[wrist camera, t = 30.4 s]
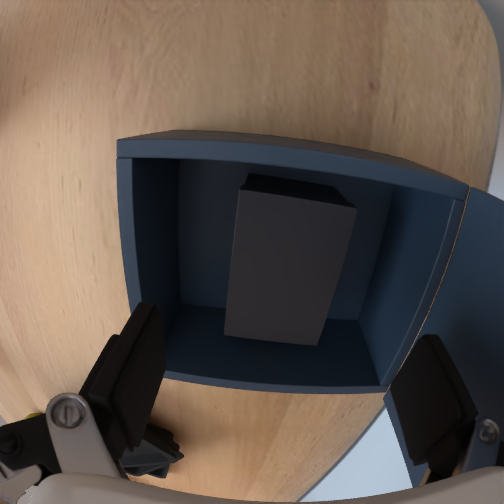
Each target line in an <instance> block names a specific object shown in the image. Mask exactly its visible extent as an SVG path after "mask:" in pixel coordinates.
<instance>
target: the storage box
mask: <svg viewBox="0 0 504 504" xmlns="http://www.w3.org/2000/svg"><path fill="white" fill-rule="evenodd" d="M116 169H117V197H118V214H119V227H120V238H121V248H122V257H123V265H124V273H125V280H126V287H127V294H128V300H129V306H130V312H131V315H132V313H133V311H134V310H135V308H136V306H137V305H138V303H139V302H145V303H151V304H155V305H156V306H157V309H159V310H161V311H162V320H163V332H164V344H165V354H166V370H165V373H164V376H163V378H168V379H173V380H179V381H184V382H190V383H197V384H203V385H210V386H217V387H225V388H234V389H243V390H254V391H266V392H280V393H301V394H363V393H383V392H386V391H387V389H388V388H389V386H390V384H391V383H392V381H393V379H394V377H395V376H396V374H397V372H398V370H399V369H400V367H401V365H402V363H403V361H404V360H405V358H406V356H407V354H408V352H409V350H410V348H411V346H412V344H413V342H414V340H415V338H416V336H417V334H418V332H419V330H420V328H421V326H422V324H423V322H424V319H425V317H426V315H427V313H428V311H429V308H430V306H431V304H432V301H433V299H434V297H435V294H436V292H437V289H438V287H439V284H440V282H441V279H442V276H443V274H444V271H445V268H446V265H447V263H448V260H449V257H450V254H451V251H452V248H453V245H454V242H455V239H456V235H457V232H458V229H459V225H460V222H461V218H462V214H463V211H464V207H465V201H466V199H467V195H468V190H469V185H468V184H466V183H463V182H461V181H459V180H457V179H454V178H452V177H450V176H447V175H445V174H443V173H440V172H438V171H435V170H433V169H430V168H428V167H425V166H423V165H420V164H417V163H415V162H412V161H409V160H407V159H404V158H400V157H396V156H391V155H387V154H382V153H378V152H373V151H368V150H363V149H358V148H353V147H348V146H342V145H336V144H330V143H324V142H318V141H311V140H304V139H296V138H288V137H280V136H271V135H261V134H250V133H237V132H221V131H198V130H170V131H163V132H157V133H150V134H144V135H139V136H133V137H128V138H123V139H118V140H117V159H116ZM249 173H252V174H259V175H266V176H273V177H280V178H287V179H293V180H299V181H305V182H311V183H316V184H322V185H328V186H333V187H335V188H336V189H337V190H338V191H339V192H340V193H341V195H342V196H343V197H344V198H345V199H346V200H347V201H348V202H351V203H353V204H354V205H355V206H356V207H357V208H358V212H357V216H356V220H355V224H354V228H353V232H352V235H351V239H350V243H349V246H348V250H347V254H346V257H345V261H344V264H343V268H342V271H341V274H340V278H339V281H338V284H337V288H336V291H335V294H334V297H333V300H332V303H331V307H330V310H329V313H328V316H327V319H326V322H325V325H324V327H323V330H322V333H321V336H320V339H319V342H318V344H317V346H314V345H303V344H292V343H283V342H274V341H265V340H257V339H249V338H242V337H234V336H228V335H224V326H225V315H226V305H227V295H228V286H229V276H230V267H231V257H232V248H233V239H234V230H235V221H236V213H237V204H238V196H239V189H240V187H241V185H244V184H245V181H246V179H247V176H248V174H249Z"/></svg>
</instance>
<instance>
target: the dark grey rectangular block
mask: <svg viewBox="0 0 504 504" xmlns="http://www.w3.org/2000/svg"><path fill="white" fill-rule="evenodd" d="M357 212H358V208H357V207H356V206H355V205H354V204H353V203H351V202H348V201H347V200H346V199H345V198H344V197H343V196H342V195H341V193H340V192H339V191H338V190H337V189H336V188H335V187H333V186H328V185H322V184H316V183H311V182H305V181H299V180H293V179H287V178H280V177H273V176H266V175H259V174H252V173H249V174H248V176H247V179H246V181H245V184H244V185H241V187H240V189H239V196H238V204H237V213H236V221H235V230H234V239H233V248H232V257H231V267H230V276H229V286H228V295H227V305H226V315H225V326H224V335H228V336H234V337H242V338H249V339H257V340H265V341H274V342H283V343H292V344H303V345H314V346H317V344H318V342H319V339H320V336H321V333H322V330H323V327H324V325H325V322H326V319H327V316H328V313H329V310H330V307H331V303H332V300H333V297H334V294H335V291H336V288H337V284H338V281H339V278H340V274H341V271H342V268H343V264H344V261H345V257H346V254H347V250H348V246H349V243H350V239H351V235H352V232H353V228H354V224H355V220H356V216H357Z"/></svg>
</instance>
